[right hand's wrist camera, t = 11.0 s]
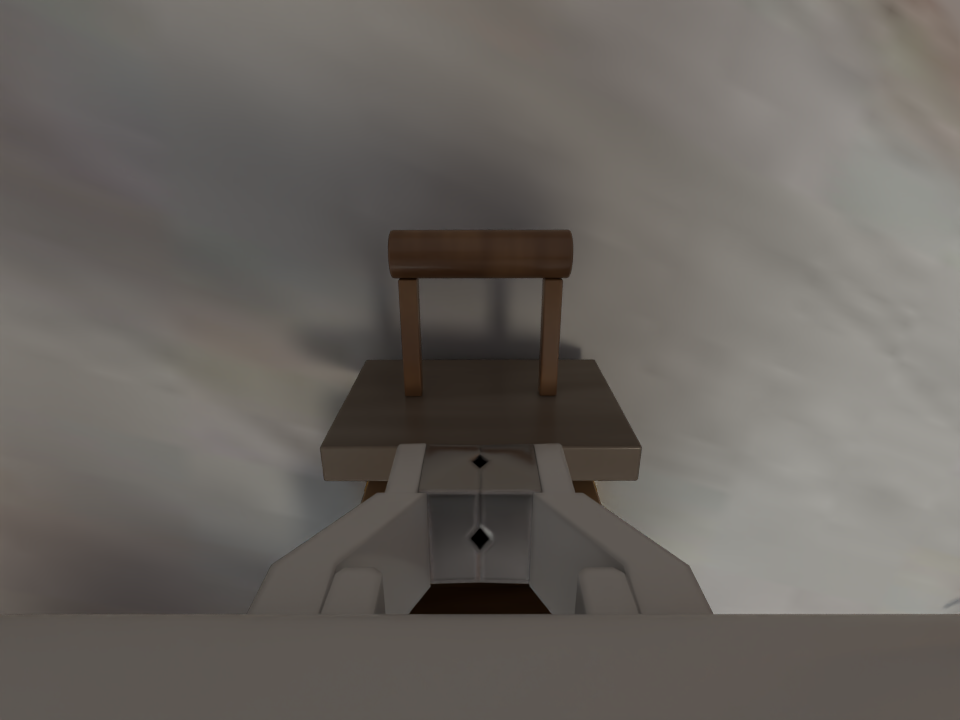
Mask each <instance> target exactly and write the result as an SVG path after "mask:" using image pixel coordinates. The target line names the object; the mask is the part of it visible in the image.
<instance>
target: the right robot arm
mask: <svg viewBox="0 0 960 720" xmlns="http://www.w3.org/2000/svg"><path fill="white" fill-rule="evenodd" d="M477 582H482V583H518V584H530V585H529V586H530V587H531V589H532V590H533V591H534V592H535V594H536V595H537V596H538V597H539V599H540V600H541V601H542V602H543V604H544V605H545V606H546V607H547V609H548V610H549V611H550V612H551V614H409V613H410V611H411V610H412V609H413V608H414V606H415V605H416V604H417V603H418V602H419V600H420V599H421V598H422V597H423V595H424V594H425V593H426V592H427V590H428V589H429V588H430V587H431V585H430V584H441V583H477ZM0 720H960V614H713V612H712V610H711V608H710V606H709V604H708V602H707V600H706V598H705V596H704V594H703V592H702V590H701V588H700V586H699V584H698V582H697V580H696V578H695V576H694V574H693V572H692V570H691V568H690V566H689V565H688V564H686V563H685V562H683V561H682V560H680V559H679V558H677V557H676V556H674V555H673V554H671V553H670V552H669V551H667V550H666V549H664V548H663V547H661V546H660V545H658V544H657V543H655V542H654V541H653V540H651V539H650V538H648V537H647V536H645V535H644V534H642V533H641V532H639V531H638V530H636V529H635V528H634V527H632V526H631V525H629V524H628V523H626V522H625V521H623V520H622V519H620V518H619V517H618V516H616V515H615V514H613V513H612V512H610V511H609V510H607V509H606V508H604V507H603V506H602V505H600V504H599V503H597V502H596V501H594V500H593V499H591V498H590V497H588V496H587V495H585V494H584V493H575V490H574V487H573V483H572V479H571V476H570V472H569V469H568V465H567V462H566V458H565V455H564V451H563V448H562V445H561V444H560V443H548V444H505V445H470V444H426V443H411V444H400V445H399V446H398V447H397V451H396V454H395V458H394V461H393V465H392V468H391V472H390V476H389V479H388V483H387V486H386V490H385V493H376V494H375V495H373V496H372V497H370V498H369V499H367V500H366V501H364V502H363V503H361V504H360V505H358V506H357V507H356V508H354V509H353V510H351V511H350V512H348V513H347V514H345V515H344V516H342V517H341V518H339V519H338V520H336V521H335V522H334V523H332V524H331V525H329V526H328V527H326V528H325V529H323V530H322V531H320V532H319V533H317V534H316V535H314V536H313V537H312V538H310V539H309V540H307V541H306V542H304V543H303V544H301V545H300V546H298V547H297V548H295V549H294V550H293V551H291V552H290V553H288V554H287V555H285V556H284V557H282V558H281V559H279V560H278V561H276V562H275V563H273V564H272V565H271V567H270V569H269V571H268V573H267V575H266V577H265V579H264V581H263V583H262V585H261V587H260V588H259V590H258V592H257V594H256V596H255V598H254V600H253V602H252V604H251V606H250V608H249V610H248V612H247V614H0Z"/></svg>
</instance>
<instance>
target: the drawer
mask: <svg viewBox="0 0 960 720" xmlns="http://www.w3.org/2000/svg"><path fill="white" fill-rule="evenodd" d="M388 262H389V270H390V274H391V276H392V278H400V279H399V280H398V287H399V304H400V321H401V339H402V356H403V360H366V362H365V364H364V366H363V368H362V369H361V371H360V373H359V375H358V377H357V379H356V381H355V383H354V385H353V386H352V388H351V390H350V392H349V394H348V396H347V398H346V400H345V401H344V403H343V405H342V407H341V409H340V411H339V413H338V415H337V416H336V418H335V420H334V422H333V424H332V426H331V428H330V430H329V431H328V433H327V435H326V437H325V439H324V441H323V443H322V445H321V447H320V452H321V460H322V468H323V476H324V480H325V481H368V484H367V487H366V490H365V493H364V495H363V498H362V501H361V503H363V502H364V501H366V500H367V499H369V498H370V497H372V496H373V495H375V494H376V493H385V490H386V486H387V483H388V479H389V476H390V472H391V468H392V465H393V461H394V458H395V454H396V451H397V447H398V446H399V445H400V444H411V443H426V444H470V445H505V444H548V443H560V444H561V445H562V448H563V451H564V455H565V458H566V462H567V465H568V469H569V472H570V476H571V479H572V483H573V487H574V490H575V493H584V494H585V495H587V496H588V497H590V498H591V499H593V500H594V501H596V502H597V503H599V504H600V505H601V502H600V499H599V496H598V493H597V491H596V488H595V485H594V482H593V481H636V480H637V479H638V474H639V466H640V458H641V450H642V447H641V445H640V443H639V441H638V439H637V437H636V435H635V434H634V432H633V430H632V428H631V426H630V424H629V422H628V421H627V419H626V417H625V415H624V413H623V411H622V410H621V408H620V406H619V404H618V402H617V400H616V399H615V397H614V395H613V393H612V391H611V389H610V387H609V386H608V384H607V382H606V380H605V378H604V376H603V375H602V373H601V371H600V369H599V367H598V365H597V363H596V362H595V360H558V359H559V341H560V324H561V306H562V288H563V280H562V279H561V278H568V277H569V276H570V274H571V270H572V263H573V238H572V234H571V231H570V230H392V231H390V234H389V239H388ZM418 278H543V283H542V307H541V331H540V355H539V360H422V349H421V326H420V303H419V280H418ZM430 585H431V587H430V588H429V589H428V590H427V592H426V593H425V594H424V595H423V597H422V598H421V599H420V600H419V602H418V603H417V604H416V605H415V606H414V608H413V609H412V610H411V611H410V613H409V614H551V612H550V611H549V610H548V609H547V607H546V606H545V605H544V604H543V602H542V601H541V600H540V599H539V597H538V596H537V595H536V594H535V592H534V591H533V590H532V589H531V587H530V586H529V585H530V584H518V583H482V582H477V583H441V584H430Z"/></svg>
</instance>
